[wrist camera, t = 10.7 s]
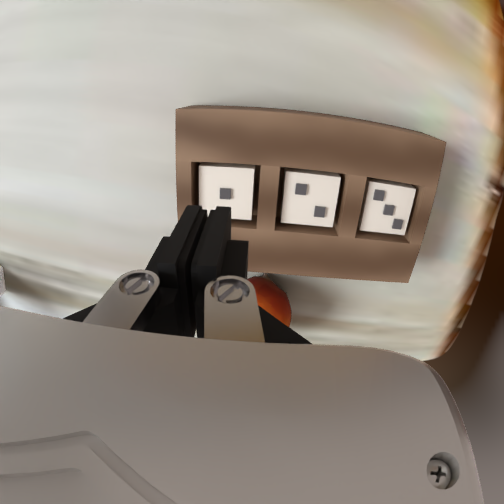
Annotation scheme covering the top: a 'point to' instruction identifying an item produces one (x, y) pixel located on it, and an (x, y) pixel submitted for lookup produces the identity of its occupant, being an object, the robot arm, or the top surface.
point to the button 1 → (227, 188)
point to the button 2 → (309, 197)
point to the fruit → (272, 298)
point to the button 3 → (386, 206)
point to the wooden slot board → (322, 159)
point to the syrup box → (2, 281)
